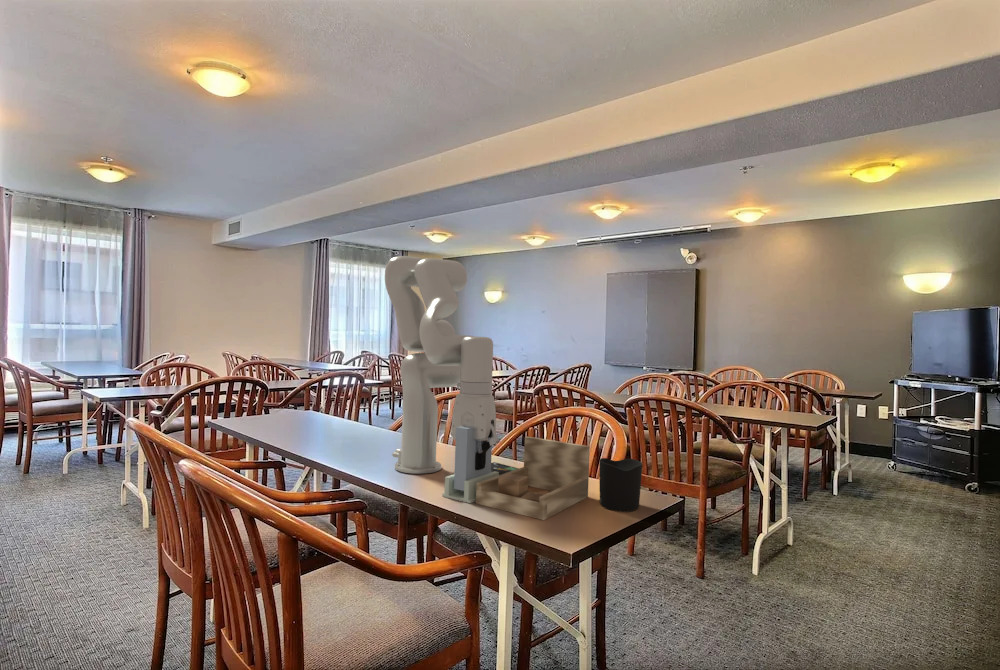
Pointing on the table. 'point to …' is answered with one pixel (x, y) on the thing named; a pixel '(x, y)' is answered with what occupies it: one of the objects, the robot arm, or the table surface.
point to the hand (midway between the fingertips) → (473, 467)
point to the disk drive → (501, 468)
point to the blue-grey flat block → (467, 457)
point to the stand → (465, 487)
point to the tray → (543, 479)
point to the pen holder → (620, 484)
